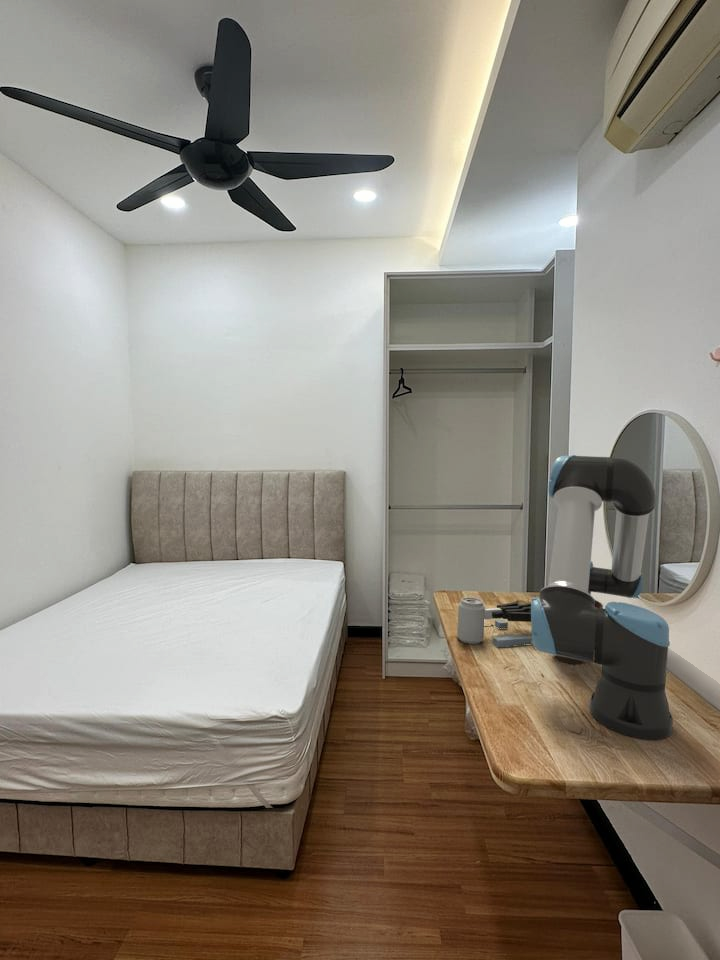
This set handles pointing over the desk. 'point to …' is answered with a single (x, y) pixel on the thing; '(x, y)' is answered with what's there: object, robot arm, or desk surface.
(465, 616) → the can
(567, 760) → the desk surface
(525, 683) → the desk surface
